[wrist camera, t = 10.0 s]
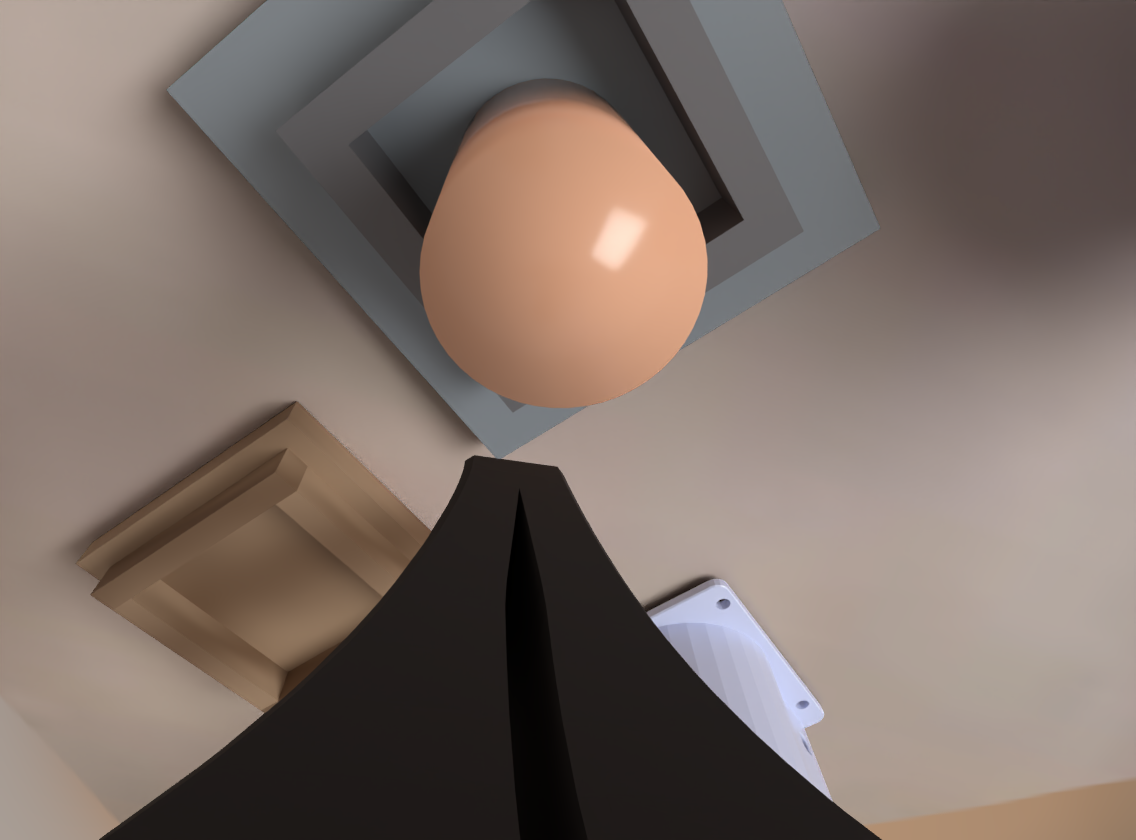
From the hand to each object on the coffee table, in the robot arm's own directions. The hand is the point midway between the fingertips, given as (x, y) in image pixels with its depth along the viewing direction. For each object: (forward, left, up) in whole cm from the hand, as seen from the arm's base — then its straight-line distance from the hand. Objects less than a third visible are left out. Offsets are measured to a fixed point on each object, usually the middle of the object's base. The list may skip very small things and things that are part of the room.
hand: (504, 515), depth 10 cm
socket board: (+2, -3, -10) cm, 11 cm away
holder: (-4, +12, -10) cm, 16 cm away
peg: (+2, -2, -9) cm, 10 cm away
